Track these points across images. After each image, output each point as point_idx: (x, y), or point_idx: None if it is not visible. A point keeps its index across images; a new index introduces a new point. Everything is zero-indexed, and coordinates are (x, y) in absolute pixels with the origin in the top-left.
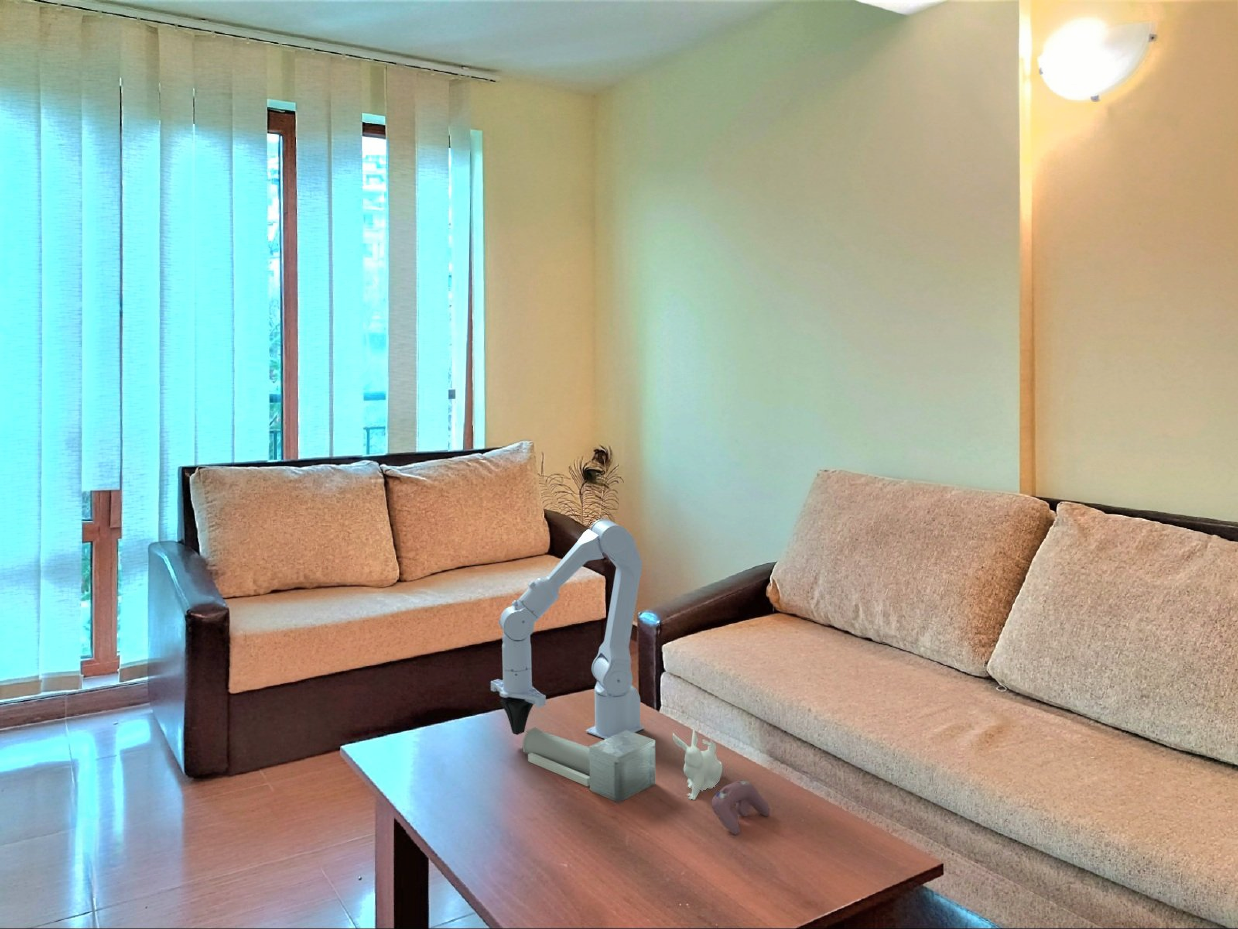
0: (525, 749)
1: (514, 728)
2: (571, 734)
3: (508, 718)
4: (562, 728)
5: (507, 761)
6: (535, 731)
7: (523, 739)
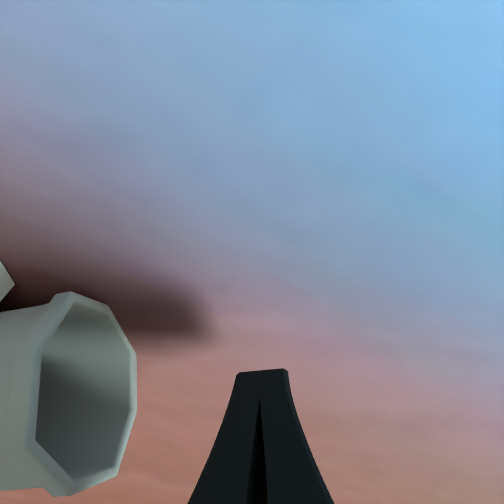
0: (45, 311)
1: (242, 410)
2: None
3: (317, 479)
4: None
5: (57, 158)
6: (12, 470)
7: (29, 363)
